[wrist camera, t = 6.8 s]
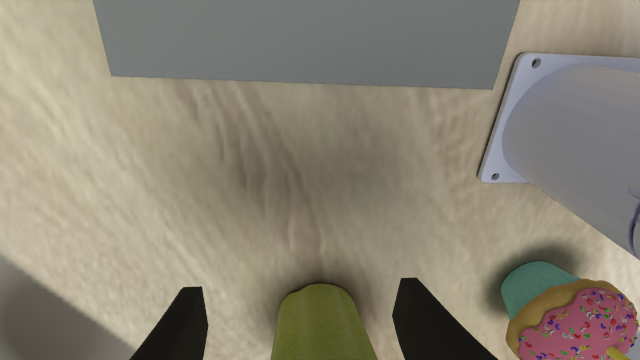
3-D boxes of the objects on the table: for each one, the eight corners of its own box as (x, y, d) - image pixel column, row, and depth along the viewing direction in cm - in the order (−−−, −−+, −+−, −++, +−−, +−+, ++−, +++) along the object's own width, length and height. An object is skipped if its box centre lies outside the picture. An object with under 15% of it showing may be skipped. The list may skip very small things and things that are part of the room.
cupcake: (517, 233, 24) (697, 407, 14) (599, 252, 26) (809, 416, 16) (460, 309, 28) (568, 492, 17) (536, 321, 30) (673, 491, 20)
